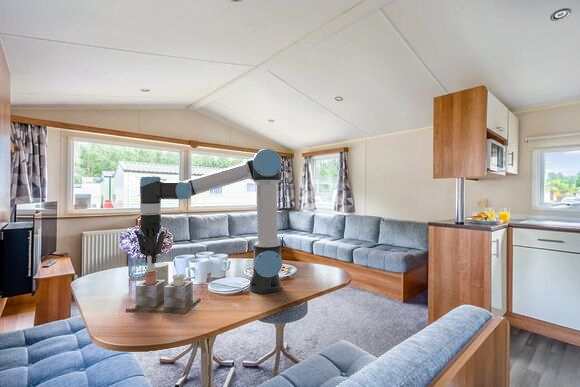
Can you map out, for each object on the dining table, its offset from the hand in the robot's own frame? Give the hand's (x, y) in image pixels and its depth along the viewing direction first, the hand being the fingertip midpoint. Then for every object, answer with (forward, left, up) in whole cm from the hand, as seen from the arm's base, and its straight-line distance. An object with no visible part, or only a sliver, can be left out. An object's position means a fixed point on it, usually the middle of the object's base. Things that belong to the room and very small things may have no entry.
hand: (151, 271), depth 118 cm
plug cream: (-12, 0, -11) cm, 16 cm away
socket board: (-6, 0, -14) cm, 15 cm away
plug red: (0, 0, -10) cm, 10 cm away
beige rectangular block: (+6, -16, -14) cm, 22 cm away
